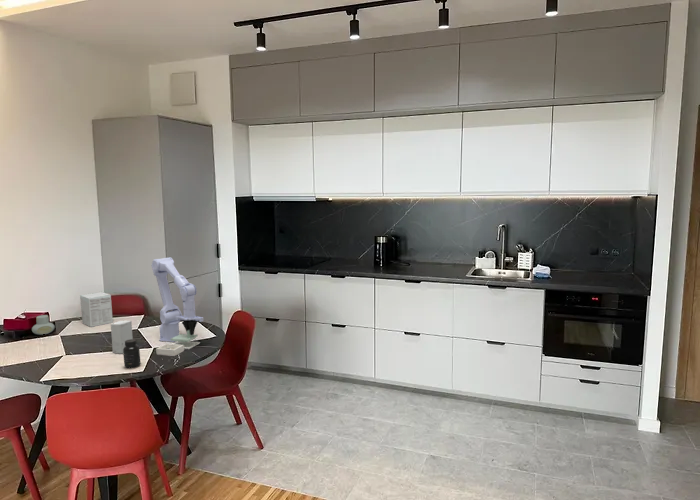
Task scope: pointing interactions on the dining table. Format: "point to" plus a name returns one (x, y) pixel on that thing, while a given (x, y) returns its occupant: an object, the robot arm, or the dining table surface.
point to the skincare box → (120, 335)
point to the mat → (188, 344)
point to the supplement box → (96, 309)
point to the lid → (184, 337)
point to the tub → (170, 349)
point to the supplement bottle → (131, 354)
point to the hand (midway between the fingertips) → (190, 334)
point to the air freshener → (43, 325)
